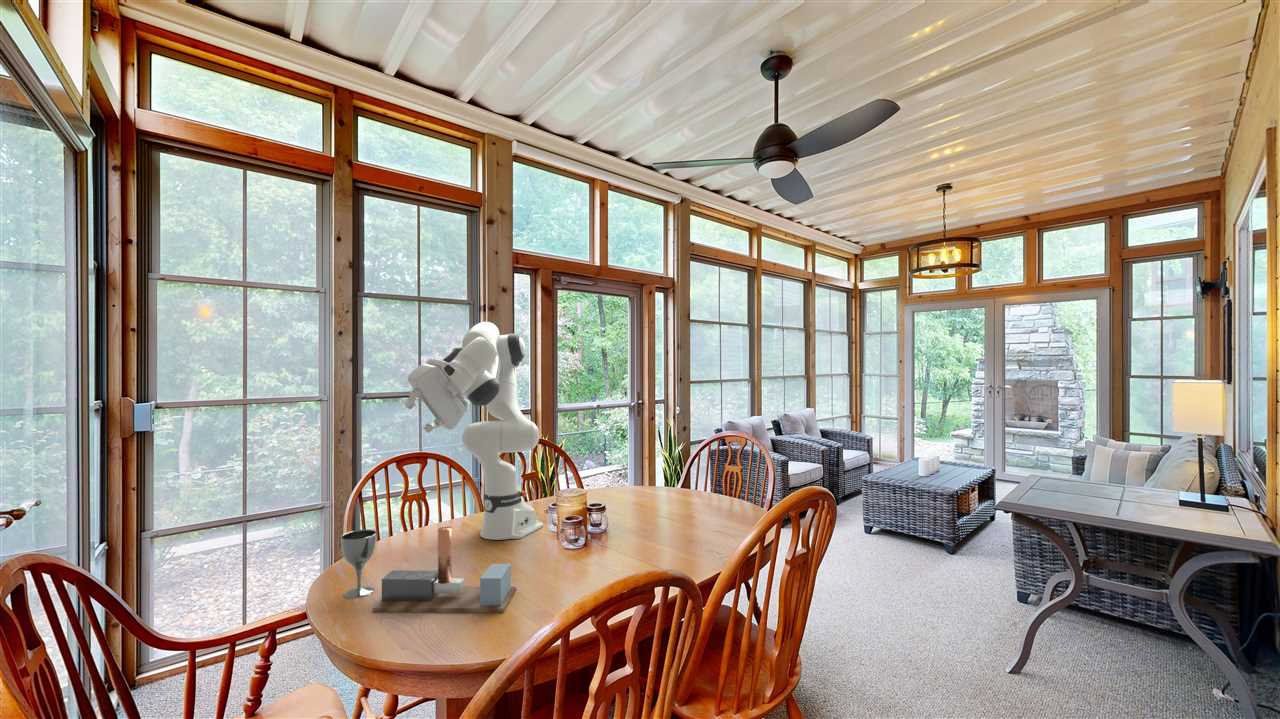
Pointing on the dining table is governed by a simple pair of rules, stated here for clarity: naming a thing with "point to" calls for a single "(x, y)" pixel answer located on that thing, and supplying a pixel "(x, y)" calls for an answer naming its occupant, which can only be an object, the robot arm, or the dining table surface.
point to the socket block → (495, 584)
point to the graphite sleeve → (408, 586)
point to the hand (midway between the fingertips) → (416, 419)
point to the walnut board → (446, 603)
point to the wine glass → (358, 557)
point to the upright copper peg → (446, 565)
